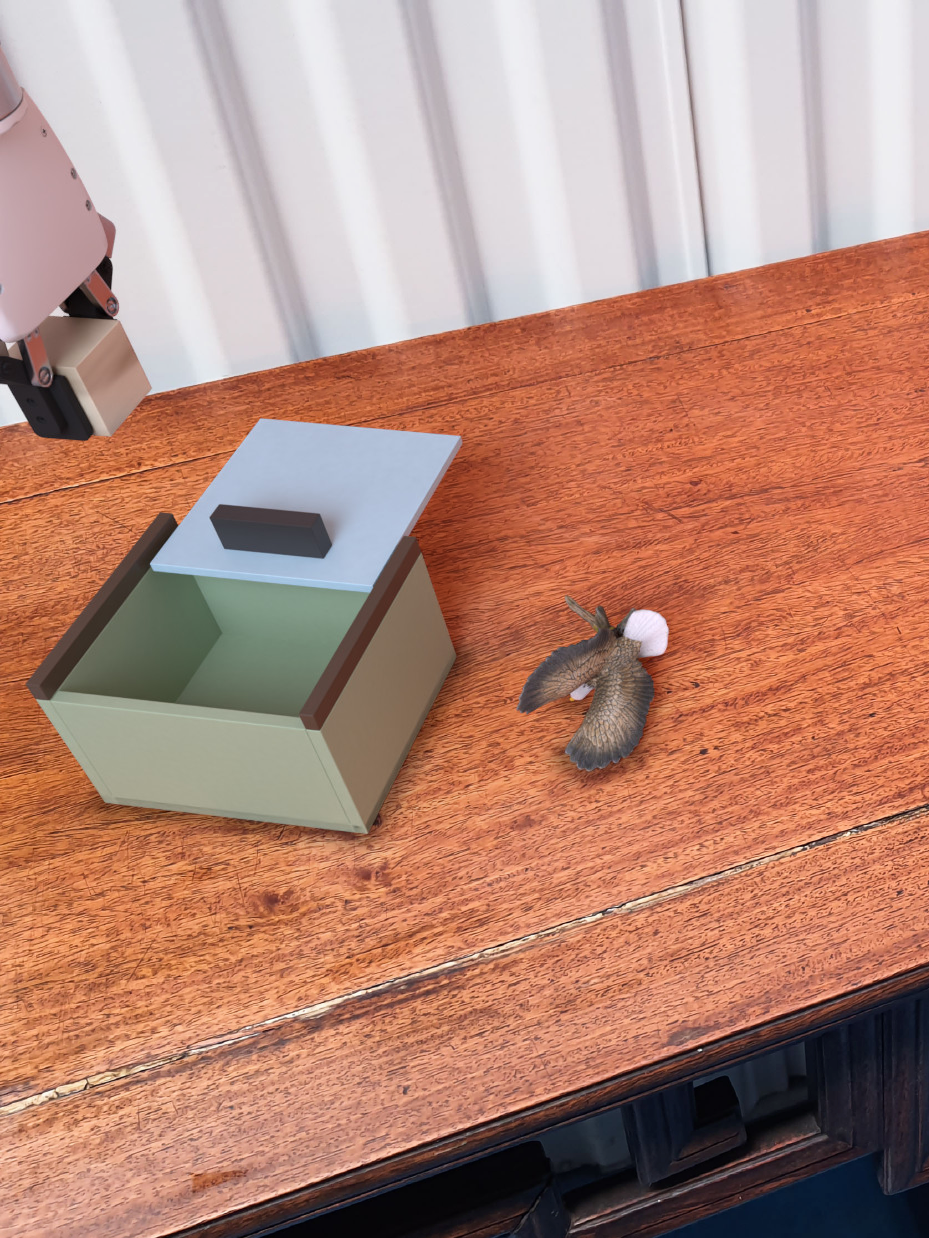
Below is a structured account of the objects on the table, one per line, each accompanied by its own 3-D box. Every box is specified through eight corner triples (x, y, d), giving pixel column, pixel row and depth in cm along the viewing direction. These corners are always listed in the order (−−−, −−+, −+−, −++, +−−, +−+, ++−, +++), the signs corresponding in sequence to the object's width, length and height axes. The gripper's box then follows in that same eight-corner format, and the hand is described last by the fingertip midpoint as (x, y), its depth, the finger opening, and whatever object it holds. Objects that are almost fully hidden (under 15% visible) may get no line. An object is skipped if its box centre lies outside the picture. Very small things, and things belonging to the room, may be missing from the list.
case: (104, 803, 79) (24, 684, 71) (220, 632, 88) (159, 511, 81) (368, 834, 77) (312, 716, 70) (457, 656, 86) (416, 536, 79)
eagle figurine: (537, 638, 86) (489, 730, 79) (588, 559, 82) (543, 648, 75) (646, 698, 88) (609, 793, 81) (700, 624, 84) (667, 716, 77)
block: (33, 431, 78) (-6, 362, 74) (78, 383, 81) (42, 314, 78) (111, 437, 77) (75, 368, 74) (152, 388, 80) (119, 319, 77)
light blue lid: (153, 571, 79) (132, 531, 77) (263, 425, 88) (247, 386, 86) (375, 593, 78) (360, 554, 76) (463, 443, 87) (451, 404, 85)
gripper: (-39, 17, 72) (108, 320, 85) (-272, 175, 60) (-60, 498, 73) (97, 23, 71) (224, 327, 84) (-113, 184, 60) (73, 509, 73)
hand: (91, 404), depth 79 cm, fingers closed on block, 4 cm apart
